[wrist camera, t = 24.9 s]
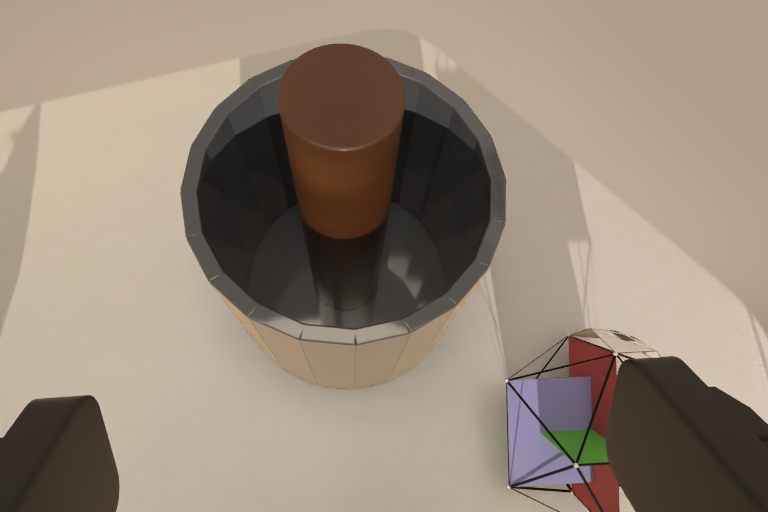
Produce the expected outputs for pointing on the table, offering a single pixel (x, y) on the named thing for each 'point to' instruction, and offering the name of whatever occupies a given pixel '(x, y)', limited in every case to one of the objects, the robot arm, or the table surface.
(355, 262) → the cylinder
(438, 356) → the table surface
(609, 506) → the geometric puzzle
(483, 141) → the tin
